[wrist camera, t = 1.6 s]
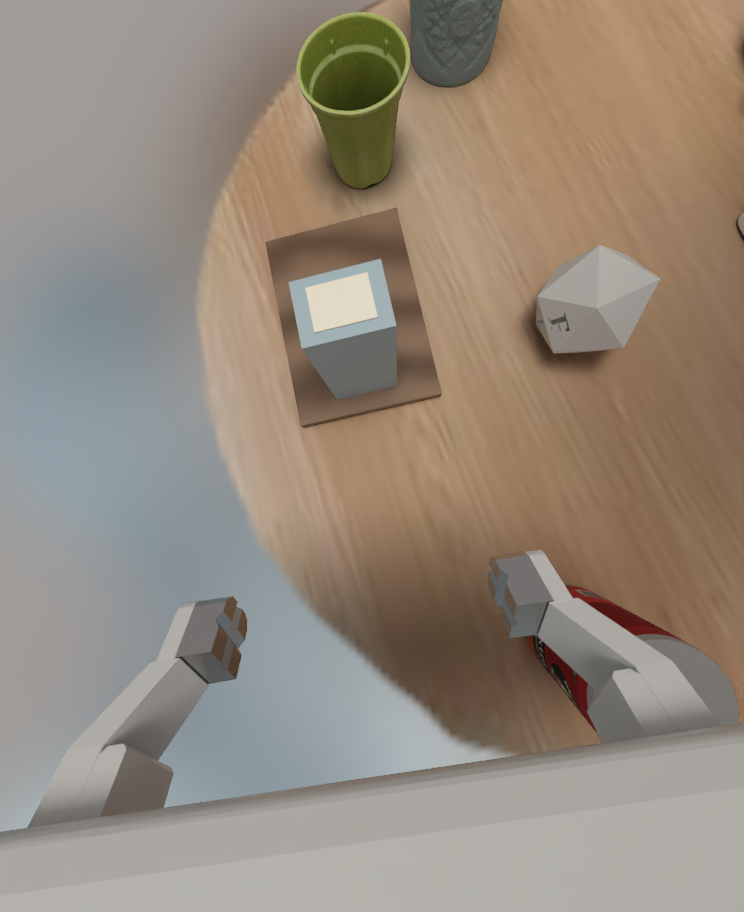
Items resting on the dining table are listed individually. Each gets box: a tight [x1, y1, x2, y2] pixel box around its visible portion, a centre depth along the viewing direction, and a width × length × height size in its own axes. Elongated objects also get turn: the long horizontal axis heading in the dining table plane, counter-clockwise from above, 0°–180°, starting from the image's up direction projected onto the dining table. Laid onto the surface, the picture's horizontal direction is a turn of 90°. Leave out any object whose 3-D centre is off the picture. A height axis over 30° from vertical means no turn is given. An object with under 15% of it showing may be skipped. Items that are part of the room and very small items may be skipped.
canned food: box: [527, 587, 739, 732], centre depth 24 cm, size 8×8×11 cm
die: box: [536, 245, 660, 353], centre depth 28 cm, size 8×9×10 cm
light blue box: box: [289, 259, 397, 400], centre depth 26 cm, size 4×6×12 cm
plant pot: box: [296, 12, 410, 188], centre depth 31 cm, size 9×9×9 cm
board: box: [266, 208, 442, 427], centre depth 33 cm, size 20×14×1 cm
